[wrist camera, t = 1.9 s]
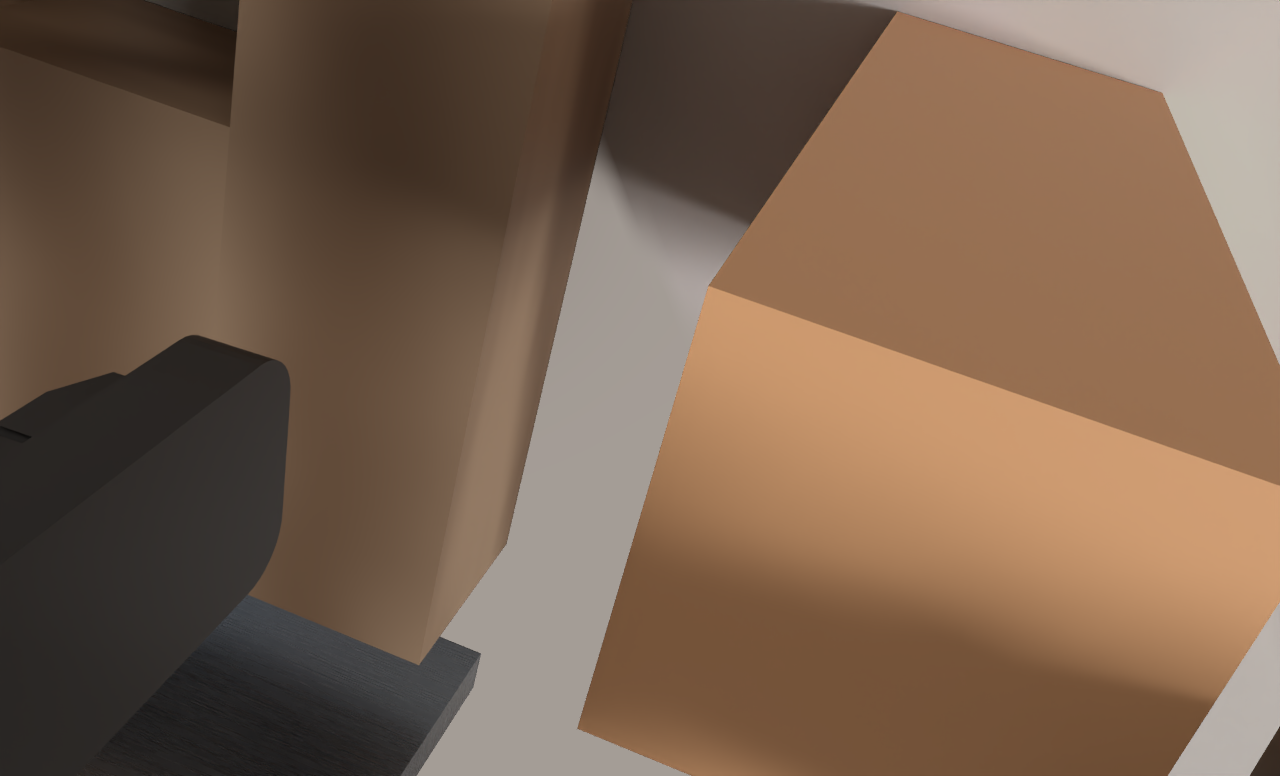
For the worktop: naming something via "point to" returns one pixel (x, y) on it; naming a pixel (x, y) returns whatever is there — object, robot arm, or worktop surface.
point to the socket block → (317, 251)
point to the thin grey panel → (291, 705)
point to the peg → (958, 447)
